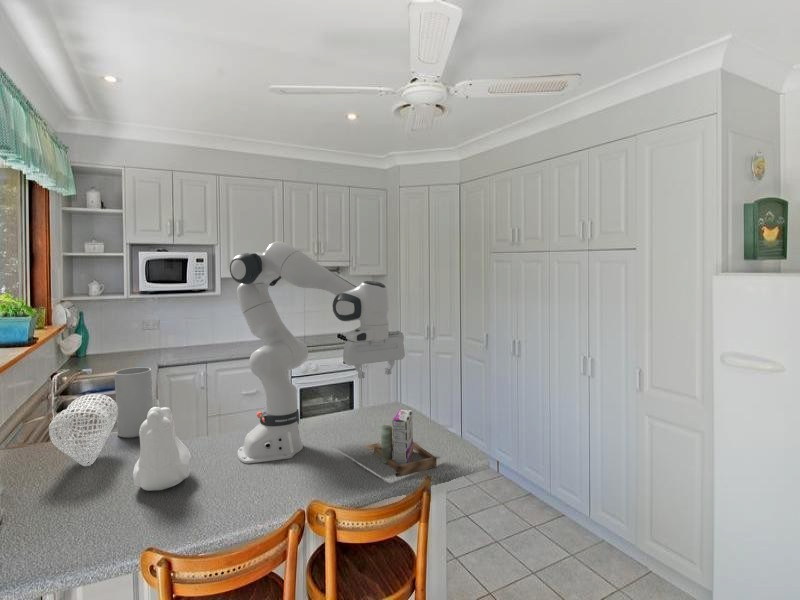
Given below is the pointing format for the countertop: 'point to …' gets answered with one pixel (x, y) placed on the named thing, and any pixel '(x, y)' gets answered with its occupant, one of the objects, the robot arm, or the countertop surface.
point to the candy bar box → (402, 437)
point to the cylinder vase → (132, 399)
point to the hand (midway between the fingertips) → (375, 376)
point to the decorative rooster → (160, 453)
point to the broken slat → (372, 446)
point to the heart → (102, 437)
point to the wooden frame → (407, 468)
